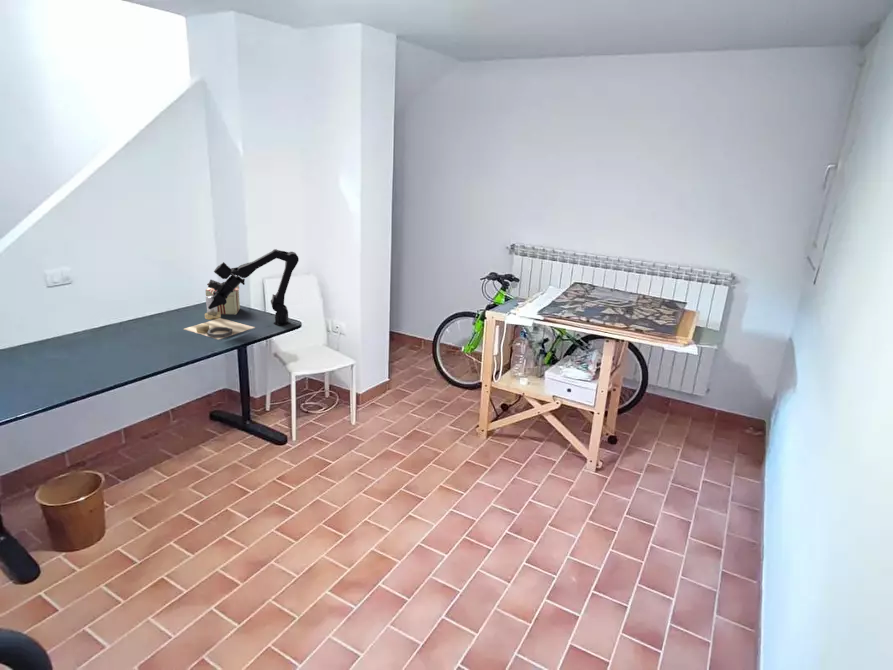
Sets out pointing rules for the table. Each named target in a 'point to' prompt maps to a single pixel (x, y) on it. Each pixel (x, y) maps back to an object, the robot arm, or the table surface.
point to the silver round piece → (211, 310)
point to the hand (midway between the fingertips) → (208, 307)
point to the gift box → (232, 301)
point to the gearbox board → (222, 324)
